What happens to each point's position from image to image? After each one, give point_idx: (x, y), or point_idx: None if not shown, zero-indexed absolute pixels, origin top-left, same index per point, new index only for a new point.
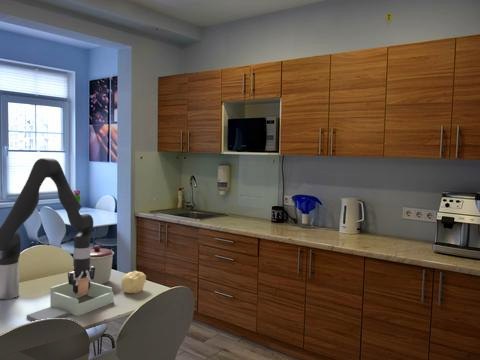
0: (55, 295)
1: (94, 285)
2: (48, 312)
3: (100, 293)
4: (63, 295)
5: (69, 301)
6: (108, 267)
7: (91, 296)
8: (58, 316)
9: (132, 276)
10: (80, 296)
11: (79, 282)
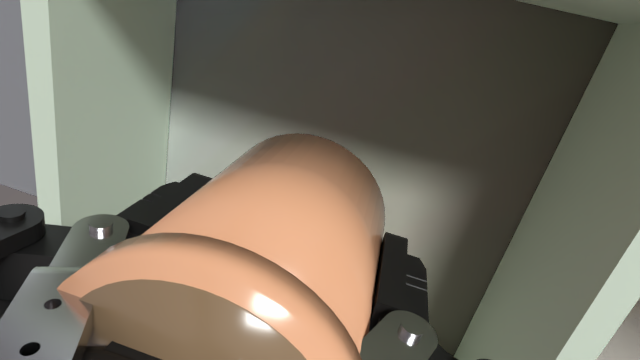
0: None
1: (601, 251)
2: (7, 72)
3: (516, 297)
4: (39, 145)
5: None
6: None
7: (566, 130)
8: (27, 190)
9: None
10: (532, 2)
11: None
